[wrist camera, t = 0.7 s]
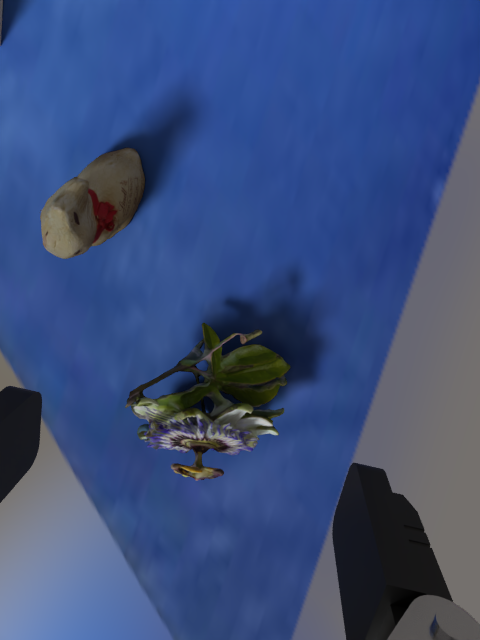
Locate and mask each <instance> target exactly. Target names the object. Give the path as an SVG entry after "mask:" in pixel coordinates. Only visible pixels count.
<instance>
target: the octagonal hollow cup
mask: <svg viewBox="0 0 480 640" xmlns="http://www.w3.org/2000/svg"><path fill="white" fill-rule="evenodd" d="M2 9H3V0H0V46H1V30H2Z"/></svg>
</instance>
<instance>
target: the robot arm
mask: <svg viewBox="0 0 480 640" xmlns="http://www.w3.org/2000/svg"><path fill="white" fill-rule="evenodd" d="M41 409H42V397H41V394H40V393H39V392H36V391H31V390H27V389H22V388H17V387H13V386H8V387H6V388H4V389H3V390H2V391H1V392H0V503H1V502H2V500H3V499H4V498H5V497H6V496H7V495H8V493H9V492H10V491H11V490H12V489H13V488H14V487H15V485H16V484H17V483H18V482H19V481H20V479H21V478H22V477H23V476H24V475H25V474H26V473H27V471H28V470H29V469H30V468H31V466H32V464H33V462H34V460H35V458H36V456H37V452H38V449H39V441H40V424H41ZM333 545H334V552H335V559H336V566H337V573H338V581H339V588H340V596H341V604H342V611H343V618H344V625H345V633H346V640H480V625H479V623H478V622H477V621H476V620H475V619H474V618H473V617H472V616H471V615H470V614H469V613H468V612H466V611H465V610H464V609H463V608H461V607H460V606H458V605H456V604H455V603H453V600H452V598H451V595H450V593H449V591H448V588H447V585H446V583H445V580H444V578H443V575H442V573H441V570H440V568H439V565H438V563H437V560H436V558H435V555H434V552H433V550H432V548H430V543H429V540H428V537H427V535H426V533H424V527H423V525H422V523H421V520H420V517H419V515H418V512H417V511H416V510H415V509H414V508H413V506H412V505H411V504H410V503H409V501H408V500H407V499H406V498H405V497H404V496H403V495H401V494H397V493H392V490H391V487H390V484H389V481H388V478H387V476H386V473H385V471H384V470H383V469H380V468H376V467H371V466H367V465H362V464H358V463H352V465H351V466H350V468H349V471H348V474H347V477H346V480H345V483H344V486H343V490H342V493H341V496H340V499H339V502H338V505H337V508H336V511H335V515H334V521H333Z"/></svg>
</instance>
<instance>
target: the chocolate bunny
mask: <svg viewBox="0 0 480 640" xmlns="http://www.w3.org/2000/svg"><path fill="white" fill-rule="evenodd" d="M144 188H145V177H144V173H143V169H142V165H141V159H140V157H139V155H138V153H137V151H136V150H135V149H132V148H124V149H121V150H117V151H113V152H109V153H105V154H103V155H101V156H99V157H98V158H96V159H95V160H94V161H93V162H91V163H90V164H89V165H88V166H87V167H86V168H85V169H84V170H83V171H82V172H81V173H80V174H79V175H78V176H77V177H74V178H73V179H71V180H70V181H68V182H67V183H65V184H64V185H63V186H62V187H61V188H59V189H58V190H57V191H56V193H55V194H53V195H52V196H51V197H50V198H49V199H48V200H47V202H46V204H45V206H44V208H43V210H41V211H42V212H41V216H40V219H41V229H42V237H43V245H44V247H45V248H46V250H47V251H49V252H50V253H52V254H53V255H55V256H57V257H60V258H63V259H67V258H71V257H74V256H78V255H81V254H83V253H85V252H86V251H87V250H88V249H89V248H90V247H91V246H97V245H100V244H102V243H103V242H105V241H106V240H107V239H110V238H112V237H113V236H114V235H115V234H116V233H117V232H119V231H121V230H122V229H124V228H125V227H126V226H127V225H128V224H129V222H130V221H131V219H132V217H133V215H134V213H135V211H136V210H137V208H138V205H139V203H140V200H141V198H142V196H143V192H144Z"/></svg>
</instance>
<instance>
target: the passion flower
mask: <svg viewBox="0 0 480 640" xmlns="http://www.w3.org/2000/svg"><path fill="white" fill-rule="evenodd" d="M202 328H203V335H204V338H203V340H202V341H201V342H199V343H198V344H197V345H196V346H195V347H194V349H193V350H192V351H191V352H190V353H189V354H188V355H187V356H186V357H185V358H183V359H182V360H181V361H179V362H178V364H177V365H176V366H175V367H174V368H173V369H170V370H169V371H167V372H165V373H163V374H162V375H160V376H159V377H157V378H155V379H153V380H151V381H150V382H148V383H146V384H143V385H140V386H139V387H137V388H136V389H134V390H133V391H131V392H130V395H129V396H130V397H129V398H128V400H127V405H126V407H125V408H127V407H128V406H130V405H131V408H132V411H133V413H134V414H135V415H136V416H137V417H139V418H140V419H147V420H148V422H149V425H148V424H144V425H141V426H140V427H139V428H138V432H137V434H138V436H139V438H140V440H143V439H147V438H148V439H147V440H145V442H149V441H150V444H148V446H147V447H153V448H154V449H156V450H157V449H160V448H165V449H169V450H171V449H177V450H178V451H179V452H181V453H187V452H188V451H189V450H191V449H193V450H194V452H195V455H196V459H195V462H194V464H193V465H192V466H185V465H181V464H172V465H171V468H172V469H173V470H174V472H175V473H179V474H182V476H184V477H188V476H190V477H192V478H194V479H195V480H196V481H197V480H199V479H200V480H204V479H205V478H208V479H213V478H216V477H218V476H222V475H223V474H224V471H223V470H221V469H218V468H210V467H204V466H203V465H202V454H203V453H205V452H206V451H207V450H208V449H210V448H211V449H212V450H216V451H218V452H222V453H228V454H229V455H235V454H239V451H241V450H247V451H252V450H253V448H254V447H256V444H258V443H257V440H259V438H258V437H257V435H262V434H268V433H269V434H273V435H279V433H278V431H277V430H276V429H275V427H274V426H273V424H272V422H273V421H272V420H271V418H273V417H277V416H280V415H281V414H283V413H284V408H282V409H278V410H270V409H268V410H260V409H258V410H253V408H252V407H260V406H261V405H262V404H265V403H268V402H269V401H271V400H272V399H273V398H274V397H275V396H276V395H277V392H278V390H279V387H280V385H281V386H285V385H286V384H287V381H286V378H285V376H284V374H285V373H287V371H289V370H290V367H291V366H290V365H289V364H288V363H286V362H285V361H284V360H283V358H282V357H281V356H280V355H278V354H276V353H275V352H273V351H271V350H270V349H268V348H266V347H264V346H262V345H258V344H251V345H244V346H242V347H239V348H237V349H235V350H234V351H232V352H230V353H227V354H226V355H222V354H221V353H222V344H224V343H225V342H227V341H229V340H230V339H231V338H233V337H234V336H235V335H241V336H240V341H241V343H242V344H244V343H245V342H247V341H249V340H251V339H253V338H256V337H257V336H258V335H260V334H262V331H261V330H255V331H254V332H252V333H249V334H241V333H233V334H232V335H230V336H229V337H227V338H226V339H224V340H223V341H221V342H220V339H219V338H218V336H217V334H216V332H215V331H214V330H213V329H212V328H211V327H210V326H208V325H207V324H205V323H203V324H202ZM203 343H205V350H204V353H203V352H202V351H201V350H200V348H201V347H202V345H203ZM202 360H206V361H207V363H208V365H209V366H208V369H207V371H201V370H199V369H198V368H197V366H196V364H197V363H199V362H200V361H202ZM178 371H185V372H192V373H193V374H194V375H195V378H196V381H197V385H194V386H193V387H192V388H190V389H188V390H186V391H183V392H178V393H172V394H169V395H162V396H161V397H159V398H158V399H150V398H147V397H145V396H144V395H143V390H144V389H146V388H147V387H149V386H152V385H153V384H155V383H157V382H159V381H160V380H162V379H164V378H166V377H168V376H170V375H171V374H173V373H175V372H178ZM200 375H202V376H203V377H204V379H205V380H204V382H203V383H200V382H199V376H200ZM276 377H277V378H278V379H275V378H276ZM249 385H250V386H249ZM219 391H222V392H224V393H225V394H230V395H232V396H233V397H234V398H235V399H236V400H239V401H240V402H242V403H238V404H234V403H232V402H230V401H229V400H227V399H225V398H224V397H223V396H222V395H221V394H220V392H219ZM205 396H206V397H209V398H210V399H212V401H213V403H214V409H213V411H212V412H211V413H206V410H205V405H204V399H203V397H205ZM200 400H201V406H202V411H200V410H199V409H197V408H190V407H192V406H193V405H195V404H196V403H198V402H199V401H200ZM135 402H136V403H135ZM133 403H134V404H133Z"/></svg>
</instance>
